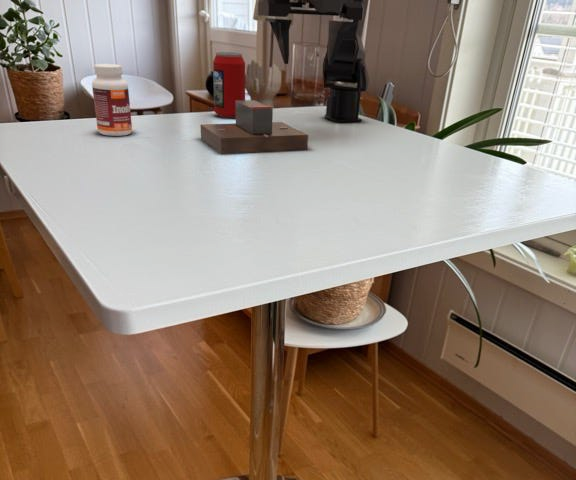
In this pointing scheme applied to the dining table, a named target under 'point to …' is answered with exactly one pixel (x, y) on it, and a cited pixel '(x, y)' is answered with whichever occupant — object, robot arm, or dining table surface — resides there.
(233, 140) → the brown wooden base
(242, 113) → the rectangular block
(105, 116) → the pill bottle
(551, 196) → the dining table surface
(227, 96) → the beverage can
